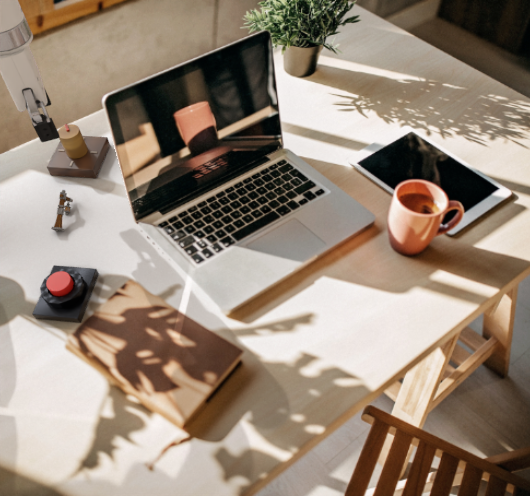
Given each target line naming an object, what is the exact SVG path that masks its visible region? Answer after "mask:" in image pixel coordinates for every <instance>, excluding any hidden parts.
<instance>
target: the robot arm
mask: <svg viewBox="0 0 530 496" xmlns="http://www.w3.org/2000/svg"><path fill="white" fill-rule="evenodd" d="M33 40H34V34H33V32H32V29H31V28H30V25H29V23H28V20H27V19H26V16H25V13H24V11H23V8H22V7H21V4H20V1H19V0H0V76H1V78H2V80H3V82H4V84H5V86H6V88H7V91H8V92H9V95H10V97H11V99H12V101H13V102H14V105H15V107H16V110H17V111H18V112H20V113H23V112H26V111H27V114H28V116H29V118H30V120H31V124H32V127H33V129H34V131H35V132H36V134H37V137H38V139H39V140H40V142H41V143H46V142H50V141H53V140H56V139H59V137H60V136H59V133H58V129H57V126H56V125H55V123H54V120H53V118H52V117H50V115H49V113H48V110H47V107H50V106H51V105H52V101H51V98H50V96H49V95H48V92H47V90H46V88H45V85H44V80H43V77H42V75H41V74H42V73H41V71H40V68H39V66H38V65H39V64H38V62H37V60H36V58H35V55H34V53H33V51H32V49H31V46H30V44H31V43H32V41H33ZM39 109H41V111H42V113H41V112H40V110H39Z"/></svg>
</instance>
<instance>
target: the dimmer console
mask: <svg viewBox="0 0 530 496" xmlns="http://www.w3.org/2000/svg"><path fill="white" fill-rule="evenodd" d="M82 136H83V138H84V141H85V143H86V145H87V148H88V151H87V153H86V154H85V155H84V156H83V157H81V158H77V159H73V158H70V157H68V156H67V154H66V151H65V149H64V147H63V145H62V143H61V141H60V140H59V142H58V144H57V146H56V148H55V150H54V152H53V153H52V156H51V158H50V159H49V161H48V163H47V165H46V169H47V170H48V174H49V175H50V176H53V177H54V176H55V177H67V178H68V177H71V178H83V179H85V178H86V179H98V175H99V173H100V172H101V168H102V167H103V164H104V162H105V159H106V157H107V155H108V153H109V150H110V148H111V144H110V141H109V138H108V137H107V136H91V135H82Z"/></svg>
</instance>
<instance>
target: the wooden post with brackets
mask: <svg viewBox="0 0 530 496" xmlns="http://www.w3.org/2000/svg"><path fill="white" fill-rule="evenodd" d="M67 194H68V193H67V192H66V190H65V189H62V190H61V191H59V196H58V199H59V203H58V204H57V209H56V219H55V223H54V225H53V226H51V227H50V229H51V230H53V231H56V232H65V228H63V216H64V214H65V215H66V216H68V215H69V214H71V209H72V207H71V206H70V205H71V204H70V203H73V202H74V199H72V197H69V196H67ZM65 203H66V205H65Z"/></svg>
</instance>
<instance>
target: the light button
mask: <svg viewBox="0 0 530 496" xmlns="http://www.w3.org/2000/svg"><path fill="white" fill-rule="evenodd" d="M46 285H47V288H48V289H49V291H50V292H51V293H52V294H53V295H54V296H58V297H60V296H64V295H67V294H68V293H70V292H71V290H72V289H73V287H74V281H73V280H72V278H71V276H70V275H69V274H68V273H67V272H64V271H59V272H56V273H54V274H52V275H51V276H50V277H49V278H48V280H47V283H46Z"/></svg>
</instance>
